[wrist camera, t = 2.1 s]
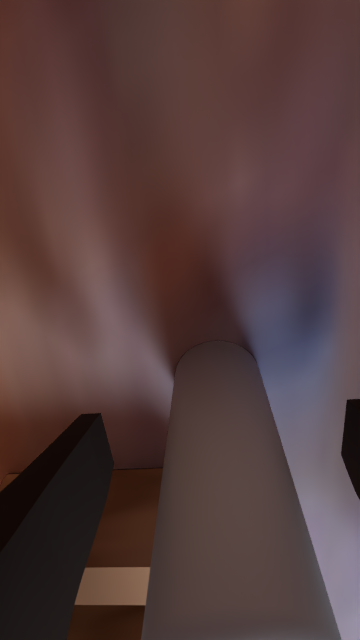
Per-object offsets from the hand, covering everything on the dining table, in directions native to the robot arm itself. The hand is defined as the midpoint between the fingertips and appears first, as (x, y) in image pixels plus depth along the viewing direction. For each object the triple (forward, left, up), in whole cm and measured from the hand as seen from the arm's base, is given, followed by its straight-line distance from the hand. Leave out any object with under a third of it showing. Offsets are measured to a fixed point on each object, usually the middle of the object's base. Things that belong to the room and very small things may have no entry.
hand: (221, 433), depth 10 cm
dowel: (0, 0, -3) cm, 3 cm away
